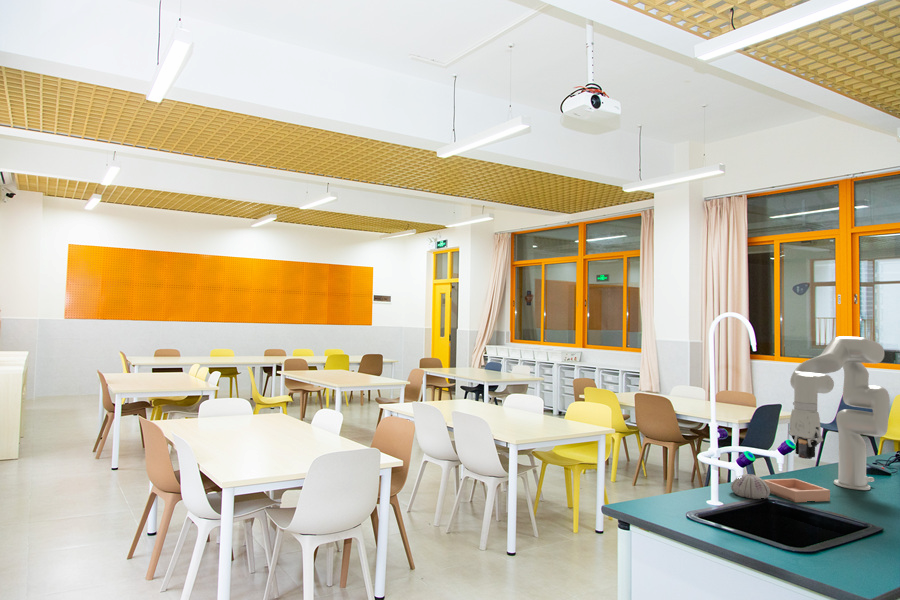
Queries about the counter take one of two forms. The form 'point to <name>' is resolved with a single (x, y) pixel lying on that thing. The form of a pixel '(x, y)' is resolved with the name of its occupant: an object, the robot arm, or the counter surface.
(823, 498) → the tray
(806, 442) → the battery cell
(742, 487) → the sea urchin shell
